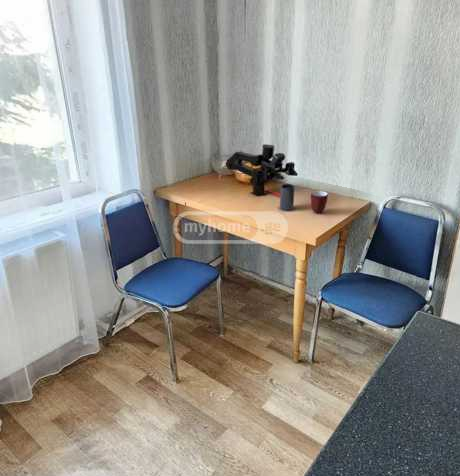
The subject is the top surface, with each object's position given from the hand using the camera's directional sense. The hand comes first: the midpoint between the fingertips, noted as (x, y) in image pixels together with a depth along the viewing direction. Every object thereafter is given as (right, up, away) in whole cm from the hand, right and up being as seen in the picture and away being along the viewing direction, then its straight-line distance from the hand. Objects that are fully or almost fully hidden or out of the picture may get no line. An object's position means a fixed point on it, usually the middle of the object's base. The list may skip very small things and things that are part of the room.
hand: (290, 176), depth 198 cm
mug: (+13, -19, -1) cm, 23 cm away
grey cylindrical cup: (-1, -16, +5) cm, 17 cm away
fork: (-4, -7, +24) cm, 25 cm away
